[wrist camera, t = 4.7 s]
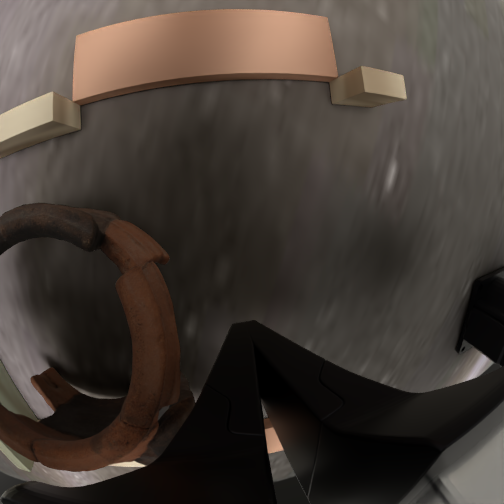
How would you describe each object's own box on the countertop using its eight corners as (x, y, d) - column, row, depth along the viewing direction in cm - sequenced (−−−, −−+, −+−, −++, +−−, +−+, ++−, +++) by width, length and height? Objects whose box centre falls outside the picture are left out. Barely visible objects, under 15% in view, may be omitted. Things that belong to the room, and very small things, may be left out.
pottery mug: (10, 348, 10) (-90, 351, 3) (94, 213, 14) (38, 118, 6) (185, 475, 11) (203, 577, 4) (274, 340, 15) (373, 350, 7)
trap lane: (357, 32, 9) (410, 0, 5) (351, 418, 16) (376, 458, 12) (-62, 122, 6) (-107, 121, 2) (53, 451, 13) (43, 490, 9)
